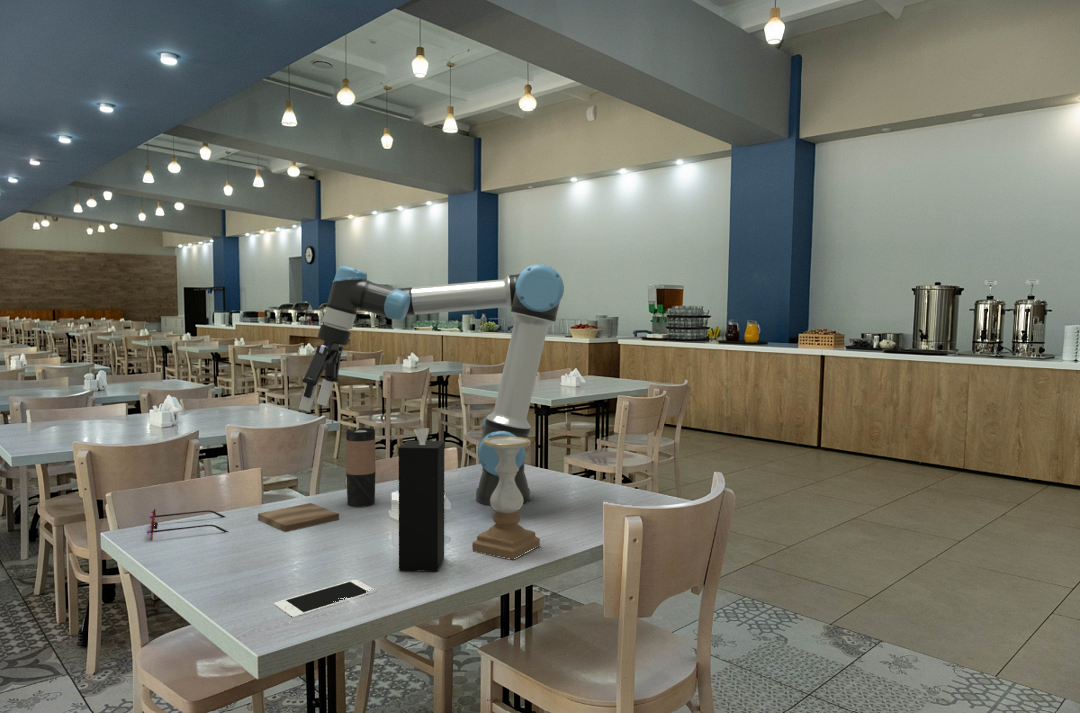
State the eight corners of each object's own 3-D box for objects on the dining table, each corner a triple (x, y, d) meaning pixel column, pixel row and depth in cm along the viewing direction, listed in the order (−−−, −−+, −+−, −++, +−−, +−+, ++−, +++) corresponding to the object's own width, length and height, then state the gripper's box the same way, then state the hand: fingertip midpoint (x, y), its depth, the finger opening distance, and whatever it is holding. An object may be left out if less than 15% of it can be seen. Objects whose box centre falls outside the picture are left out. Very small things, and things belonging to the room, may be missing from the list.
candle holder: (513, 560, 142) (513, 446, 141) (471, 550, 148) (471, 441, 147) (541, 546, 152) (542, 438, 151) (500, 537, 158) (501, 434, 156)
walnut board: (339, 519, 170) (339, 513, 170) (285, 531, 160) (285, 525, 160) (310, 508, 180) (310, 502, 180) (258, 519, 170) (258, 513, 170)
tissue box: (407, 557, 144) (407, 424, 142) (444, 558, 143) (445, 425, 142) (398, 571, 136) (398, 430, 134) (437, 572, 135) (438, 431, 134)
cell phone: (272, 606, 120) (272, 602, 120) (355, 582, 131) (355, 578, 131) (292, 620, 114) (292, 616, 114) (377, 594, 126) (377, 590, 126)
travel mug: (371, 507, 181) (371, 432, 180) (342, 507, 182) (342, 432, 180) (378, 500, 189) (378, 427, 188) (351, 499, 189) (350, 427, 188)
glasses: (149, 527, 164) (149, 506, 164) (225, 518, 172) (225, 498, 172) (147, 544, 152) (146, 521, 152) (228, 534, 159) (228, 512, 159)
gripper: (336, 323, 186) (314, 398, 187) (305, 321, 161) (280, 408, 162) (363, 331, 186) (341, 406, 187) (336, 330, 161) (311, 416, 162)
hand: (313, 407), depth 174 cm, fingers open, 13 cm apart
